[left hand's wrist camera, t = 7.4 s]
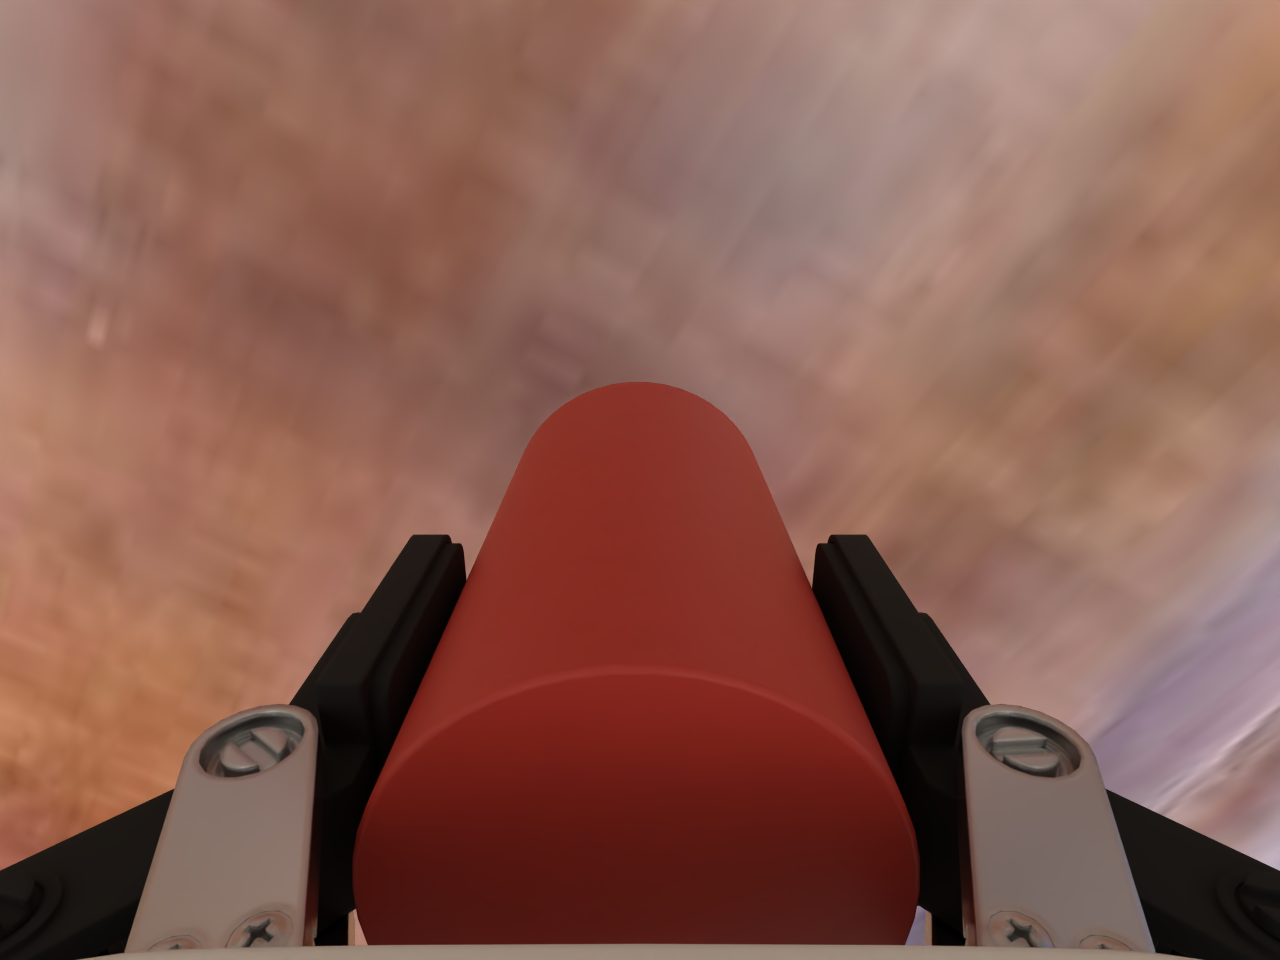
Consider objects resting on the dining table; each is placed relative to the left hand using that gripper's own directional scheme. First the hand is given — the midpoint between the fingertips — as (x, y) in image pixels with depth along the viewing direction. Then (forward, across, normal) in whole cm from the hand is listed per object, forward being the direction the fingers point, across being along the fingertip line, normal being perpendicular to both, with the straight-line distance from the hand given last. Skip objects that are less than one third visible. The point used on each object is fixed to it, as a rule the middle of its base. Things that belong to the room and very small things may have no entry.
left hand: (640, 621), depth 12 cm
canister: (+5, 0, 0) cm, 5 cm away
